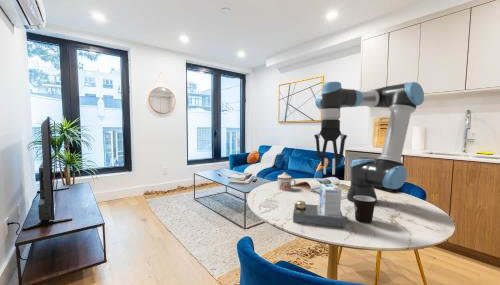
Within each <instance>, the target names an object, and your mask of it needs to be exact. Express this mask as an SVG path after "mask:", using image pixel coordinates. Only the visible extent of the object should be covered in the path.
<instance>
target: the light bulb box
mask: <svg viewBox="0 0 500 285" xmlns="http://www.w3.org/2000/svg"><path fill="white" fill-rule="evenodd" d="M318 199H319V202H318V203H319V204H318V205H319V207H320V208H321V210H322V211H323V213H324V214H325V215H340V210H341V206H342V205H341V203H342V189H341V188H339V187H338V186H337V185H336V184H335V183H319V198H318Z"/></svg>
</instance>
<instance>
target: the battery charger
mask: <svg viewBox="0 0 500 285" xmlns="http://www.w3.org/2000/svg"><path fill="white" fill-rule="evenodd" d="M374 190H379V191H382V192H386V193H389V194H395V193H400V192H402V186H401V187H400V188H398V189H390V188H385V187H381V186H377V185H374Z"/></svg>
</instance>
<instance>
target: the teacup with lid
mask: <svg viewBox="0 0 500 285" xmlns="http://www.w3.org/2000/svg"><path fill="white" fill-rule="evenodd" d="M292 181H293V184H292ZM296 183H297V181H296V179H294V178H292V176H291V175H289V174H288V173H287V172H283V173H281V174H278V175H277V189H278V190H279V191H291V190H292V187H295V185H296Z"/></svg>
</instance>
